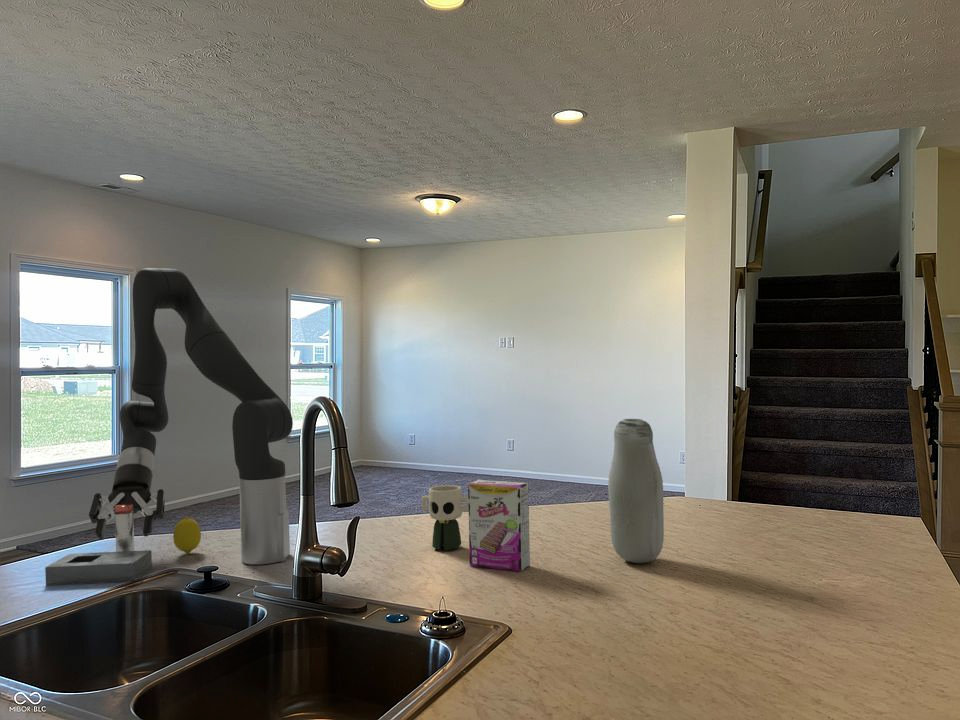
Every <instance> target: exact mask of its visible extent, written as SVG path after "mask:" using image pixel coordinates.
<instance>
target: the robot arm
mask: <svg viewBox="0 0 960 720" xmlns="http://www.w3.org/2000/svg"><path fill="white" fill-rule="evenodd" d="M133 279H134V280H133V283H132V311H133V316H132V317H133V329H134V362H133V370H132V371H133V372H132V377H131V378H132V380H131V390H132V392H134V393H136V394H137V395H140V396H143V397H147V398H148V399H150V400H151V401H142V400H128V401H126V402H125V403H123V405H122V406H121V408H120V410H119V421H120V426H121V427H120V428H121V431H122V442H121V444H122V445H121V449H120V454H119V458H118V460H117V463H116V467H115V473H114V479H113V484H112V490H111V492H110V494H109V495H101V493H99V492H96V493H95V494H94V496H93V498H92V499H93V500H92V502H91V505H90V510H89V513H88V516H89V517H88V518H89V519H90V522H91V523H92V524H96V526H95V535H96V537H97V538H98V540H99V541H103V540H105V535H106V530H107V524H108V523H109V522H110V521H111V520H112V519H115V506H116V505H121V504H133V514H137V513H138V512H140V513H141V514H142V515H143V517H144V523H143V528H142V534H143V536H144V537H149V536H150V534H152V532H153V530H154V529H153V527H154V521H155V520H157V519H160V520H161V519H163V518H164V517H165V505H166V497H165V492H164V489H158V490H157V491H155V492H154V491H153V492H151V489H152V482H153V475H154V472H155V454H156V447H157V438H156V435H154V434H153V433H160V432H162V431H164V430H165V429H166V427H167V426H168V423H169V410H168V407H167V403H166V397H165V396H166V395H165V387H166V386H165V383H166V375H167V369H168V357H167V354H166V351H165V348H164V346H163V344H162V342H161V341H160V338H159V335H158V333H157V331H156V328H155V316H156V311H157V310H164V309H165V310H166V309H171V310H174V311H175V312H176V314H178V315H179V316H180V317H181V319H182V320H183V323H184V324H185V332H184V333H185V334H184V349H185V352H186V354H187V356H188V357H189V359H190V360H191V361H192V363H193V364H194V365H195V368H197V370H198V371H199V372H200V373H201V374H202V375H203V376H204V377H205V378H206V379H207V380H209V381H211V382H212V383H214V384H215V385H216V386H218V387H220V388H221V389H223V390H225V391H226V392H228V393H229V394H231V395H233V396H234V397H235V398H237V399H238V400H239V401H240V402H241V403H239V404H238V405H237V406H236V408H235V409H234V412H233V417H232V424H231V425H232V439H233V440H232V441H233V452H234V461H235V465H236V467H237V468H236V469H237V470H238V478H239V481H238V482H239V485H238V487H239V515H240V517H239V518H240V546H241V547H240V549H241V550H240V553H241V555H240V556H241V562H242V563H244V564H247V565H268V564H274V563H278V562H285V561H286V560H287V558H288V557H289V556H290V554H291V552H290V551H291V545H290V544H291V543H290V513H289V509H288V508H287V493H286V487H287V486H286V464H285V462H284V461H283V460H281V459H278V458H275V457H273V456H272V455H271V453H270V447H269V444H271V443H275V442H279V441H282V440H284V439H286V438H287V437H289V435H290V434H291V433H292V430H293V427H294V426H293V423H294V422H293V417H292V412H291V410H290V408H289V407H288V406H287V404H286V403H285V401H284V400H283V399H282V398H281V397H280V396H279V395H278V394H277V393H276V392H275V391H274V390H273V389H272V388H271V387H270V386H269V385H268V384H267V383H266V382H265V380H263V379H262V378H261V377H260V375H259V374H258V373H257V372H256V371H255V369H254V368H253V367H252V365H251V364H250V362H248V360H246V358H245V357H244V356H243V355H242V353H241V351H240V350H239V349H238V347H237V346H236V345H235V343H234V342H233V341H232V339H230V337H229V336H228V334H227V333H226V332H225V331H224V329H222V327H221V326H220V325H219V323H218V322H217V321H216V319H215V318H214V316H213V315H212V314H211V312H210V311H209V310H208V308H207V307H206V305H205V304H204V302H203V300H202V298H201V297H200V296H199V293H198V292H197V291H196V288H195V287H194V285H193V283H192V282H191V280H190V279H189V278H188V276H187V275H186V274H185V273H184V272H182V271H181V270H179V269H175V268H163V267H162V268H161V267H160V268H159V267H158V268H155V267H146V268H143V269H140V270H139V271H138V272H137V273H136V274H135V276H134V278H133ZM151 500H153V501H154V502H155V503H156V509H154V510H152V509H151V508H150V506H149V505H148V503H150V502H151ZM108 502H109V504H107V505H105V504H106V503H108ZM102 507H105V508H104V510H103V511H101V510H102Z"/></svg>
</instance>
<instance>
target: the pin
mask: <svg viewBox="0 0 960 720" xmlns="http://www.w3.org/2000/svg"><path fill="white" fill-rule="evenodd" d="M114 524H115V526H114V527H115V529H114V530H115V552H122V551H135V529H134V525H135V524H134V513H133V504H121V505H116V506H115V518H114Z"/></svg>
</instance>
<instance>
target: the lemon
mask: <svg viewBox="0 0 960 720" xmlns="http://www.w3.org/2000/svg"><path fill="white" fill-rule="evenodd" d="M172 536H173V543H174V546H175V547H176V548H177V549H178V550H179V551H181V552H183V553H184V554H187V555H189V554H191V552H192V551H193V550H195V549H196V548H198V546H199V544H200V542H201V540H202V539H201V538H202V531H201V528H200V525H199V523H198V522H197V521H196V520H195V519H193V518H190V517H189V516H185V517H184V518H183V519H181V520H180V521H178V522H177V523H176V525H175V526H174V530H173V535H172Z"/></svg>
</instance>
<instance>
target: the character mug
mask: <svg viewBox="0 0 960 720" xmlns="http://www.w3.org/2000/svg"><path fill="white" fill-rule="evenodd" d="M427 501H428V506H427ZM463 502H465V507H463ZM468 504H469V503H468V496H463V491H462V486H459V485H455V484H454V485H452V484H451V485H449V484H445V485H436V486H431V487H429V489H428V495H422V496H421V509H422V511H424V512H429V517H430V518H431V519H433V520H435V522H434V525H433V533H432V542H431V543H432V544H431V546H432V548H433V549H436V550H437V549H438V550H441V549H442V548H443V547H444V548H443V549H444V550H445V551H446V550H454V549H458V548H459V547H460V546H461V545H462V537H461V531H460V525H459V522H458V520H457V519H459V518H461V517H462V515H463V513H469V505H468Z"/></svg>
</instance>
